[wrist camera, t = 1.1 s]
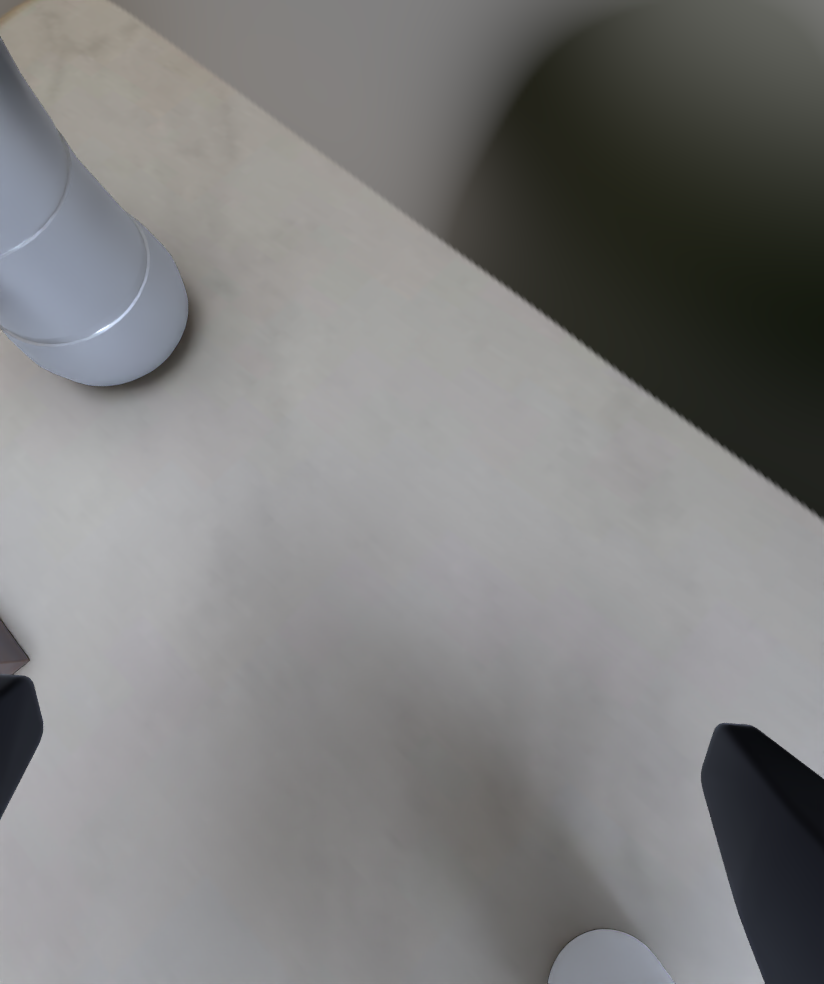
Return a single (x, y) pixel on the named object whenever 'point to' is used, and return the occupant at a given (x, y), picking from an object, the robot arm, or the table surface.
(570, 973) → the tube
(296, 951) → the table surface
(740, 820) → the robot arm
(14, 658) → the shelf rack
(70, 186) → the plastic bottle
